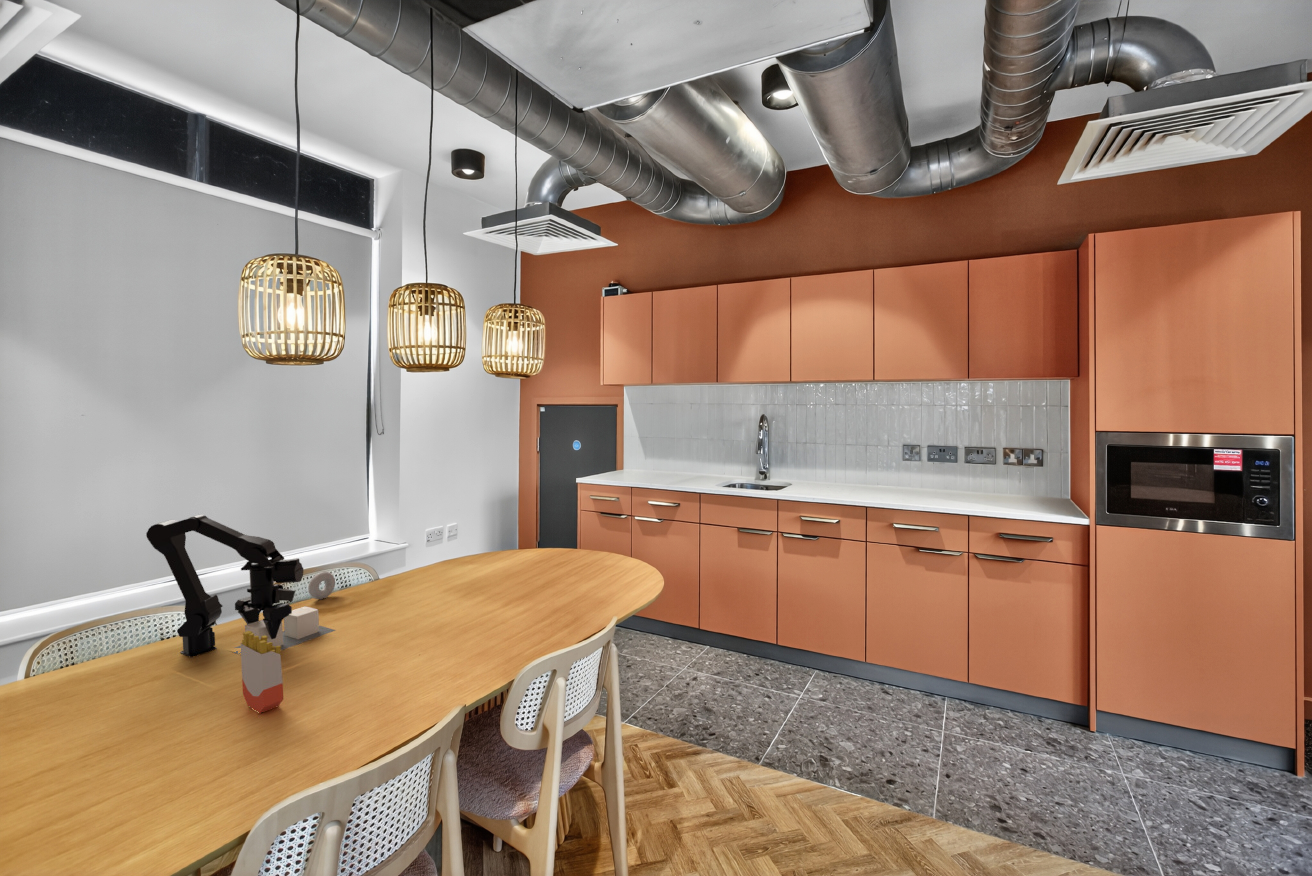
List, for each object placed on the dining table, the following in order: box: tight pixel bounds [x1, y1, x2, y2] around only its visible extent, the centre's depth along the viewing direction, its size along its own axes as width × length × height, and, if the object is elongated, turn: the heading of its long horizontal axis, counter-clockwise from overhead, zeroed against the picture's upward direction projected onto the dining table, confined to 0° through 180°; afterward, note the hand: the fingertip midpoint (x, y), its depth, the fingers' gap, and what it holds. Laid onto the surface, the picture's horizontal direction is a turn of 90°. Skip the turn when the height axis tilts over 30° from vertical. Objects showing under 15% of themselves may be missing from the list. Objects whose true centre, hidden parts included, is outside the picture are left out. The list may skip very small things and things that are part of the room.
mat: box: [234, 624, 336, 655], centre depth 178 cm, size 24×14×1 cm, turn 153°
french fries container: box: [240, 631, 284, 714], centre depth 139 cm, size 5×11×18 cm, turn 56°
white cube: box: [244, 619, 284, 647], centre depth 173 cm, size 7×7×7 cm
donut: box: [307, 571, 336, 600], centre depth 215 cm, size 10×4×10 cm, turn 157°
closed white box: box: [283, 606, 320, 639], centre depth 182 cm, size 7×7×7 cm
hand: (264, 635), depth 173 cm, fingers open, 9 cm apart
